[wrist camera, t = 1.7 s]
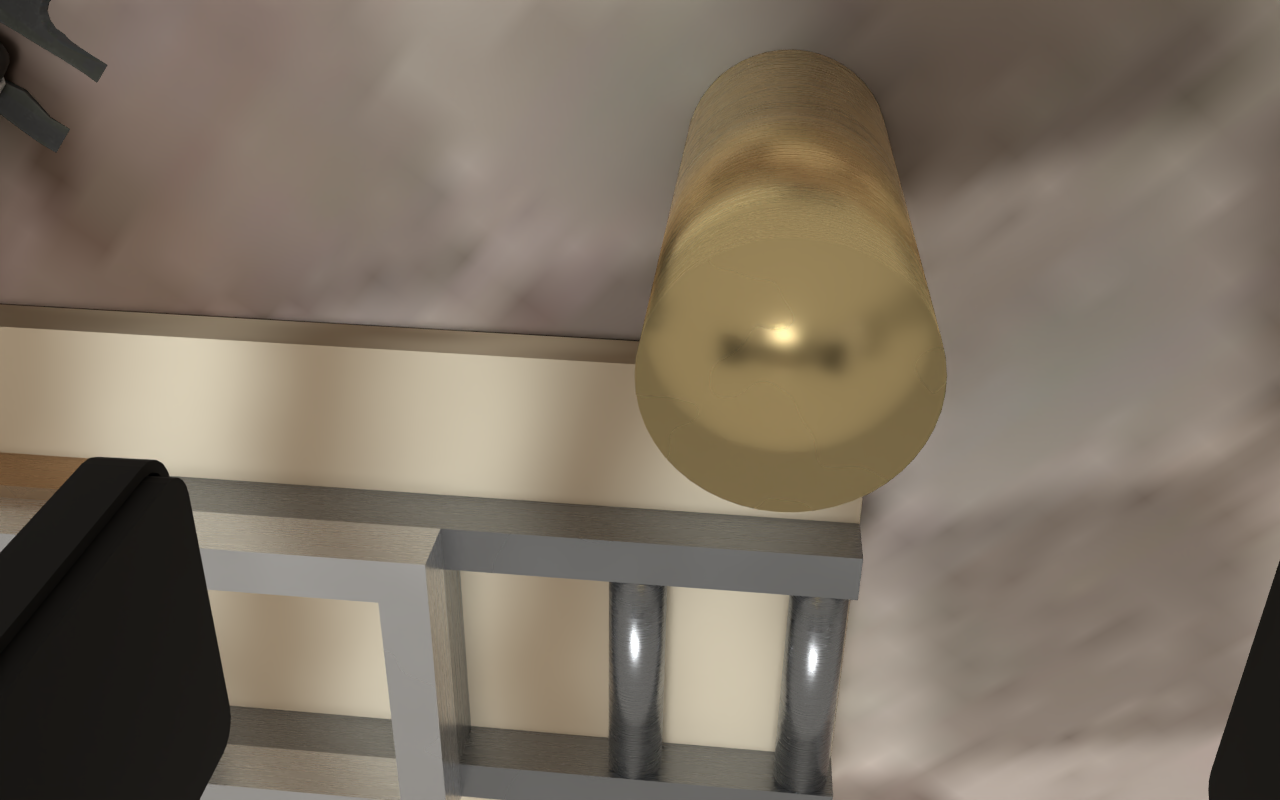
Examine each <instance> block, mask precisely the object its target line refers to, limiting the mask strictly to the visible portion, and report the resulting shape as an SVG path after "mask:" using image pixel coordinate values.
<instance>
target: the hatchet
mask: <svg viewBox="0 0 1280 800" xmlns="http://www.w3.org/2000/svg"><path fill="white" fill-rule="evenodd" d="M50 1H51V0H0V22H1V23H3V24H5V25H6V26H8V27H10V28H11V29H13V30H15V31H16V32H18V33H20V34H21V35H23V36H24V37H26V38H28V39H29V40H31V41H33V42H34V43H36V44H38V45H39V46H41V47H43V48H44V49H46V50H48V51H49V52H51V53H53V54H54V55H56V56H58V57H59V58H61V59H62V60H64V61H66V62H67V63H69V64H70V65H72V66H73V67H75V68H77V69H78V70H80V71H81V72H83V73H84V74H86V75H87V76H89V77H90V78H91V79H93V80H94V81H95V82H98V80H99V79H100V77H101V75H102V74H103V72H104V70H105V68H106V67H107V65H106V64H105V63H103V62H102V61H100V60H99V59H97V58H95V57H94V56H92V55H91V54H89V53H88V52H86V51H84V50H83V49H81V48H80V47H78V46H77V45H76V44H74V43H73V42H72V41H70V40H69V39H68V38H67V37H66V35H65V34H63V33H62V32H60V31H59V30H58V29H56V28H55V26H54V25H53V23H52V22H51V20H50V17H49V14H48V11H47V10H48V5H49V2H50ZM4 80H5V79H4ZM5 83H6V84H5V86H4V88H3V89H2V91H1V93H0V114H1V115H2V116H3V117H5V118H6V119H7V120H9V121H10V122H12V123H13V124H14V125H16V126H17V127H18V128H20V129H21V130H22V131H24V132H25V133H26V134H28V135H29V136H31V137H32V138H33V139H35V140H36V141H38V142H39V143H41V144H42V145H44V146H46V147H47V148H49V149H51V150H53V151H54V152H57V151H58V149H59V147H60V145H61V144H62V142H63V140H64V139H65V137H66V135H67V133H68V132H69V130H70V129H69V128H67V127H65V126H64V125H62V124H61V123H59V122H58V121H56V120H54V119H53V118H51V117H50V116H49V115H48V114H47V112H46V111H45V110H44V109H43V108H42V107H41V106H40V105H39V103H38V102H37V101H36V100H35V99H34V98H33V97H32V96H31V95H30V94H29V93H28V91H27V90H25V89H23V88H21V87H19V86H17V85H15V84H13V83H11V82H9V81H7V80H5Z"/></svg>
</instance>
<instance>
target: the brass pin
mask: <svg viewBox="0 0 1280 800" xmlns="http://www.w3.org/2000/svg"><path fill="white" fill-rule="evenodd" d="M946 379H947V370H946V357H945V352H944V348H943V344H942V339H941V335H940V332H939V328H938V324H937V320H936V316H935V313H934V309H933V305H932V301H931V297H930V294H929V290H928V286H927V282H926V278H925V275H924V271H923V267H922V263H921V259H920V256H919V252H918V248H917V244H916V240H915V237H914V233H913V229H912V225H911V221H910V218H909V214H908V210H907V206H906V202H905V199H904V195H903V191H902V187H901V183H900V180H899V176H898V172H897V168H896V165H895V161H894V157H893V153H892V149H891V146H890V142H889V138H888V134H887V130H886V127H885V123H884V119H883V116H882V113H881V111H880V108H879V105H878V103H877V102H876V100H875V98H874V96H873V94H872V93H871V91H870V90H869V89H868V87H867V86H866V85H865V84H864V82H863V81H862V80H861V79H860V78H859V77H858V76H857V75H856V74H855V73H853V72H852V71H851V70H849V69H848V68H847V67H845V66H844V65H842V64H840V63H838V62H837V61H835V60H833V59H831V58H828V57H826V56H823V55H821V54H817V53H813V52H808V51H801V50H777V51H771V52H765V53H762V54H759V55H755V56H752V57H750V58H748V59H746V60H743V61H741V62H739V63H738V64H736V65H735V66H733V67H731V68H730V69H728V70H727V71H726V72H725V73H723V74H722V75H721V76H720V77H718V79H717V80H716V81H715V82H714V83H713V84H712V85H711V86H710V87H709V88H708V90H707V91H706V92H705V94H704V95H703V96H702V98H701V100H700V102H699V103H698V105H697V107H696V109H695V112H694V114H693V117H692V119H691V122H690V127H689V131H688V135H687V139H686V144H685V148H684V152H683V157H682V161H681V165H680V170H679V174H678V178H677V183H676V187H675V191H674V195H673V200H672V204H671V208H670V213H669V217H668V221H667V226H666V230H665V234H664V239H663V243H662V247H661V251H660V256H659V260H658V264H657V269H656V273H655V277H654V282H653V286H652V290H651V295H650V299H649V303H648V308H647V312H646V316H645V320H644V325H643V329H642V333H641V338H640V342H639V346H638V351H637V355H636V363H635V391H636V396H637V401H638V406H639V410H640V413H641V416H642V418H643V421H644V424H645V426H646V428H647V430H648V432H649V434H650V436H651V438H652V440H653V442H654V443H655V444H656V446H657V447H658V448H659V450H660V451H661V453H662V454H663V455H664V457H665V458H666V459H667V460H668V461H669V462H670V463H671V464H672V465H673V466H674V467H675V468H676V469H677V470H678V471H679V472H680V473H681V474H683V475H684V476H685V477H686V478H687V479H689V480H690V481H691V482H693V483H694V484H696V485H697V486H699V487H701V488H702V489H704V490H705V491H707V492H709V493H711V494H713V495H715V496H717V497H719V498H721V499H724V500H727V501H729V502H732V503H735V504H738V505H741V506H745V507H749V508H753V509H758V510H765V511H773V512H806V511H816V510H821V509H826V508H831V507H835V506H839V505H842V504H845V503H848V502H851V501H854V500H856V499H858V498H860V497H862V496H865V495H867V494H869V493H871V492H873V491H874V490H876V489H878V488H879V487H881V486H883V485H884V484H886V483H887V482H889V481H890V480H891V479H893V478H894V477H895V476H896V475H898V474H899V473H900V472H901V471H902V470H903V469H904V468H905V467H906V466H907V465H908V464H909V463H910V462H911V461H912V460H913V459H914V458H915V457H916V456H917V454H918V453H919V452H920V450H921V449H922V448H923V447H924V445H925V444H926V442H927V440H928V439H929V437H930V435H931V433H932V432H933V430H934V428H935V426H936V423H937V421H938V418H939V415H940V413H941V410H942V406H943V401H944V397H945V392H946Z"/></svg>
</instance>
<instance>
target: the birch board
mask: <svg viewBox="0 0 1280 800" xmlns="http://www.w3.org/2000/svg"><path fill="white" fill-rule="evenodd" d="M639 342H640V341H623V340H606V339H589V338H571V337H554V336H537V335H520V334H502V333H485V332H468V331H450V330H433V329H416V328H399V327H381V326H364V325H347V324H329V323H312V322H295V321H278V320H260V319H243V318H226V317H209V316H191V315H174V314H157V313H139V312H122V311H105V310H88V309H70V308H53V307H36V306H18V305H1V304H0V452H2V453H17V454H32V455H46V456H61V457H76V458H92V457H112V458H131V459H150V460H158V461H159V462H161V463H163V464H164V466H165V467H166V469H167V471H168V473H169V476H179V477H194V478H208V479H223V480H237V481H252V482H266V483H280V484H295V485H309V486H324V487H338V488H353V489H367V490H382V491H396V492H410V493H425V494H439V495H454V496H468V497H483V498H497V499H512V500H526V501H541V502H555V503H569V504H584V505H598V506H613V507H627V508H642V509H656V510H671V511H685V512H700V513H714V514H728V515H743V516H757V517H772V518H786V519H801V520H815V521H830V522H844V523H859V524H860V515H861V507H862V499H863V496H862V497H860V498H858V499H856V500H854V501H851V502H848V503H845V504H842V505H839V506H835V507H831V508H826V509H821V510H816V511H806V512H773V511H765V510H758V509H753V508H749V507H745V506H741V505H738V504H735V503H732V502H729V501H727V500H724V499H721V498H719V497H717V496H715V495H713V494H711V493H709V492H707V491H705V490H704V489H702V488H701V487H699V486H697V485H696V484H694V483H693V482H691V481H690V480H689V479H687V478H686V477H685V476H684V475H683V474H681V473H680V472H679V471H678V470H677V469H676V468H675V467H674V466H673V465H672V464H671V463H670V462H669V461H668V460H667V459H666V458H665V457H664V455H663V454H662V453H661V451H660V450H659V448H658V447H657V446H656V444H655V443H654V442H653V440H652V438H651V436H650V434H649V432H648V430H647V428H646V426H645V424H644V421H643V418H642V416H641V413H640V410H639V406H638V401H637V396H636V391H635V363H636V355H637V351H638V346H639ZM460 577H461V591H462V605H463V619H464V634H465V648H466V662H467V676H468V690H469V704H470V718H471V726H477V727H489V728H501V729H512V730H524V731H536V732H548V733H559V734H571V735H583V736H595V737H607V738H609V582H606V581H592V580H579V579H565V578H552V577H539V576H525V575H512V574H498V573H485V572H471V571H460ZM208 595H209V600H210V606H211V611H212V616H213V621H214V626H215V632H216V637H217V642H218V647H219V652H220V658H221V663H222V668H223V673H224V678H225V684H226V689H227V694H228V699H229V704H230V706H242V707H253V708H265V709H277V710H289V711H300V712H312V713H324V714H336V715H348V716H359V717H371V718H383V719H391V711H390V702H389V693H388V684H387V675H386V667H385V658H384V649H383V640H382V631H381V622H380V614H379V605H378V603H374V602H361V601H348V600H335V599H322V598H309V597H296V596H283V595H270V594H257V593H244V592H231V591H218V590H208ZM788 605H789V595H781V594H767V593H754V592H740V591H727V590H713V589H700V588H687V587H673V586H667V608H666V640H665V672H664V704H663V735H662V742H665V743H677V744H689V745H701V746H713V747H724V748H736V749H748V750H760V751H771V752H775V746H776V735H777V724H778V713H779V702H780V692H781V681H782V670H783V659H784V649H785V638H786V627H787V616H788ZM849 605H850V600H849V604H848V612H847V621H848V613H849ZM847 621H846V629H847ZM846 629H845V637H846ZM845 637H844V645H845ZM844 645H843V653H844ZM843 653H842V661H843ZM842 661H841V669H840V678H841V670H842ZM840 678H839V686H840ZM839 686H838V694H839ZM838 694H837V702H838ZM837 702H836V710H837ZM836 710H835V718H836ZM835 718H834V726H835ZM834 726H833V735H834ZM833 735H832V743H833ZM832 743H831V751H832ZM831 751H830V757H831ZM461 800H497V799H486V798H475V797H464V796H462V797H461Z"/></svg>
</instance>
